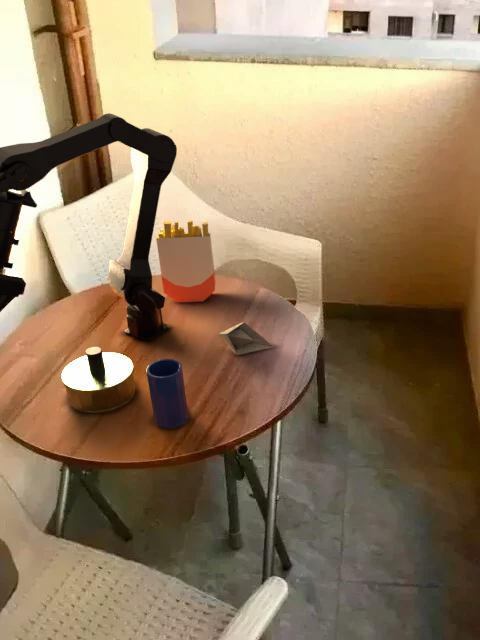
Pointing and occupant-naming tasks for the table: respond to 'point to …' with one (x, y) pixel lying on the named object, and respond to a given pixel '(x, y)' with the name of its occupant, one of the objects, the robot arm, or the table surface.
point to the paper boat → (244, 339)
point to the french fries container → (186, 262)
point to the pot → (103, 398)
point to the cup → (167, 393)
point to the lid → (97, 371)
